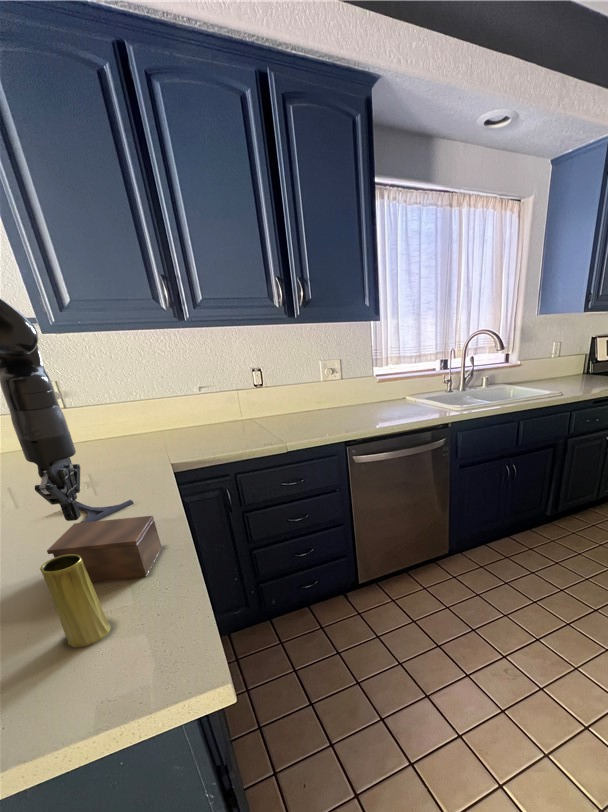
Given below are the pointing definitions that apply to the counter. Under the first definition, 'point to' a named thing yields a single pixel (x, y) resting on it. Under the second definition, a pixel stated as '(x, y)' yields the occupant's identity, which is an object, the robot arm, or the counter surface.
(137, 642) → the counter surface
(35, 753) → the counter surface
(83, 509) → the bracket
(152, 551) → the chest
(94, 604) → the vase
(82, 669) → the counter surface
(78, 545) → the lid
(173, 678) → the counter surface
